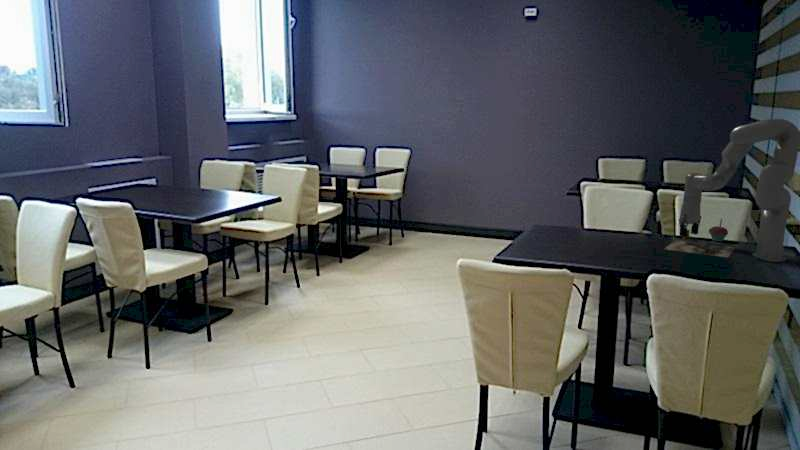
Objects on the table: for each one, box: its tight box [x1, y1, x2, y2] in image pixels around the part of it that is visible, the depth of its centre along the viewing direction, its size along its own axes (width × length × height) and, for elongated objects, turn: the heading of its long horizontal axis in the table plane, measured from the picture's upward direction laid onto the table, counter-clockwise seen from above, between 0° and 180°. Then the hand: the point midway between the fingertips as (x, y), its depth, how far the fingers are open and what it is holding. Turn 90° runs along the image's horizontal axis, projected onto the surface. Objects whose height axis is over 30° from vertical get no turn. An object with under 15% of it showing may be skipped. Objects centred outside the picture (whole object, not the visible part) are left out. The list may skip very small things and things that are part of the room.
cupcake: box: [708, 218, 729, 243], centre depth 298 cm, size 9×8×12 cm
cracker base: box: [664, 238, 736, 258], centre depth 277 cm, size 26×24×3 cm
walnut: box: [701, 242, 711, 252], centre depth 269 cm, size 4×4×4 cm
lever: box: [681, 229, 722, 251], centre depth 279 cm, size 22×5×6 cm, turn 16°
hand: (688, 235), depth 289 cm, fingers open, 9 cm apart
